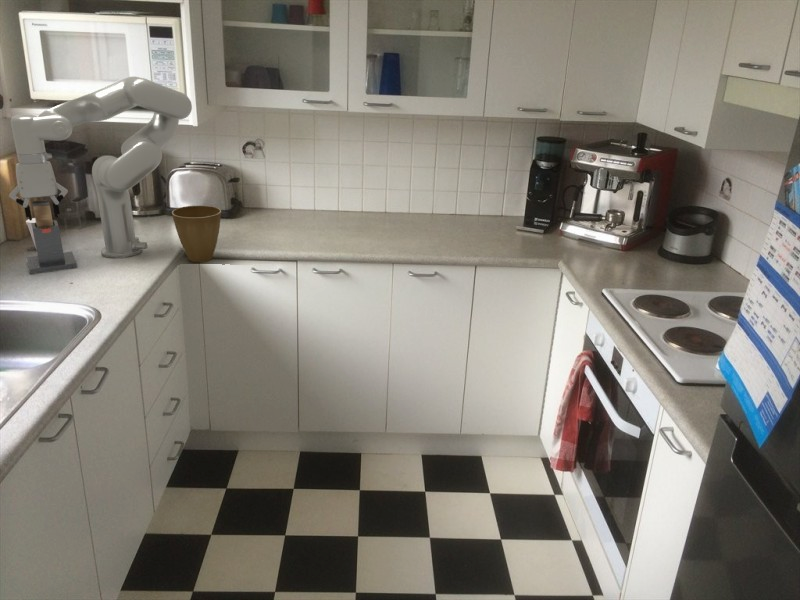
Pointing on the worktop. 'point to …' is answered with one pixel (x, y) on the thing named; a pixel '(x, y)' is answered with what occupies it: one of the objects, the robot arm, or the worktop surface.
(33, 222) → the smoothie
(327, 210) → the worktop surface
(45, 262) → the stand
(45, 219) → the column
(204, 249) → the plant pot
